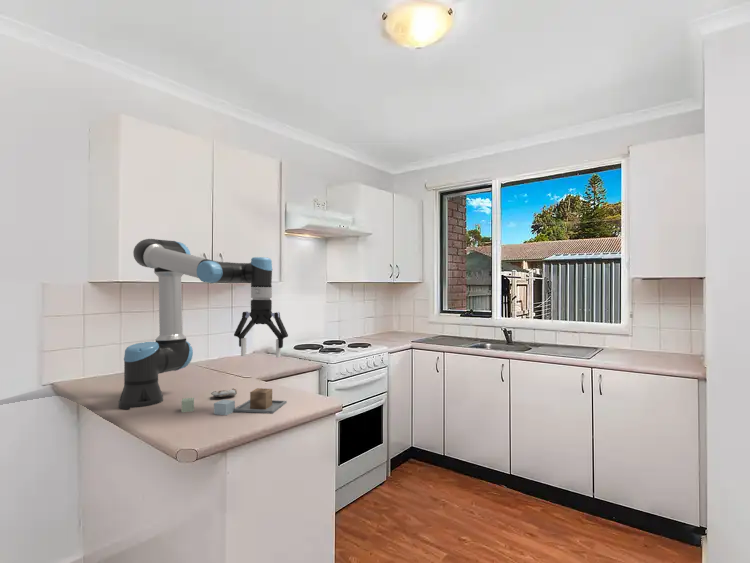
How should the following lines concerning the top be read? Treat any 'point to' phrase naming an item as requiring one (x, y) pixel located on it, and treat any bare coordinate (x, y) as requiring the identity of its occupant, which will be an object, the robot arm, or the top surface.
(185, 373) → the top surface
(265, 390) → the block walnut
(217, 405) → the block bluegrey
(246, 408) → the tray
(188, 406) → the block sage
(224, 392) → the stone
